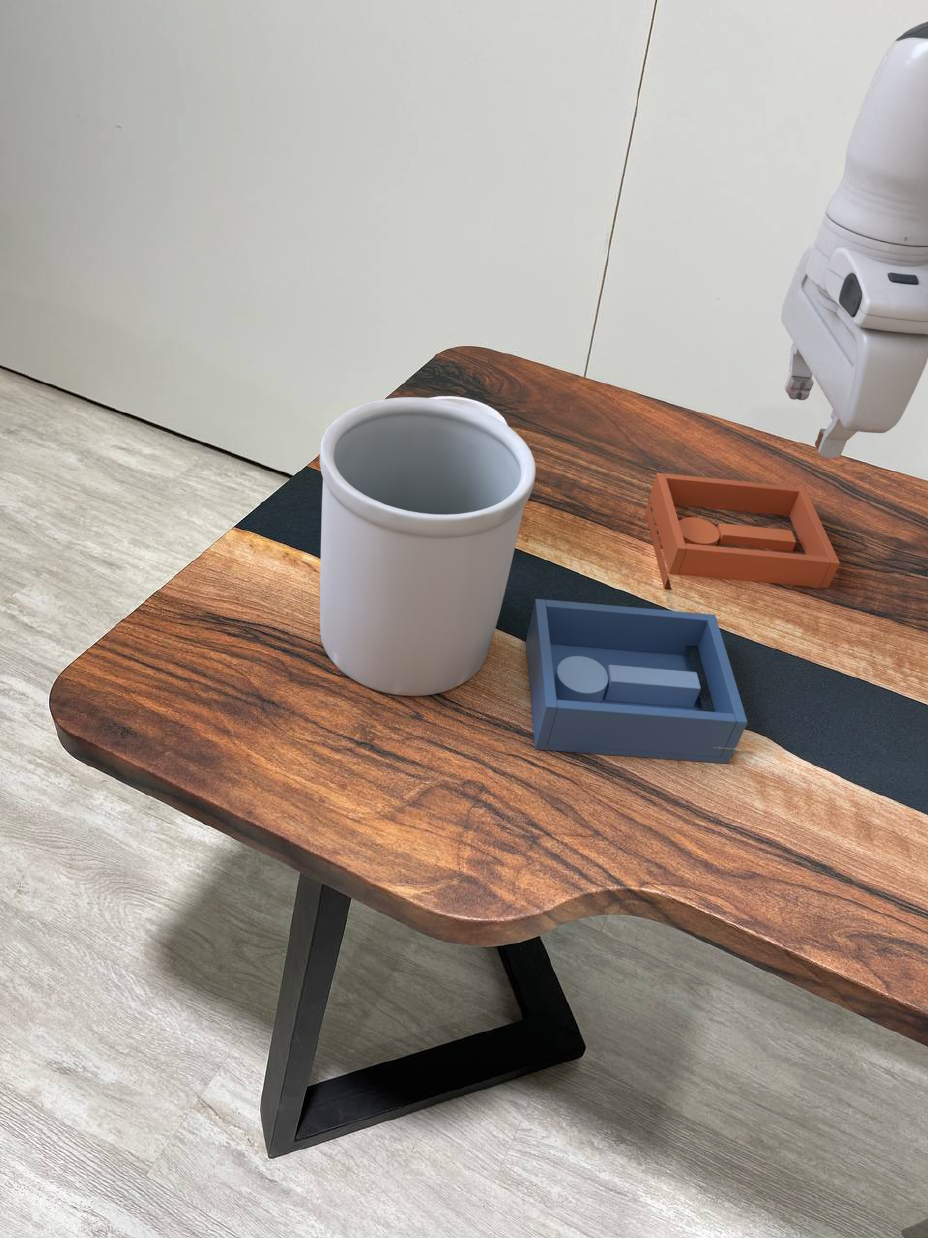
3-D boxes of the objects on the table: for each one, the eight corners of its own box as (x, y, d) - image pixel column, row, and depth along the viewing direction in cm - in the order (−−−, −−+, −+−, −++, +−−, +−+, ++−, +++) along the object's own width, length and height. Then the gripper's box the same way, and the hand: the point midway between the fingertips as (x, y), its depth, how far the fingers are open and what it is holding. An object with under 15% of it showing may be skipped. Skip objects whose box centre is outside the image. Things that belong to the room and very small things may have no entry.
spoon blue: (686, 681, 80) (694, 661, 79) (695, 718, 78) (704, 699, 76) (550, 670, 79) (555, 649, 78) (554, 707, 76) (560, 686, 75)
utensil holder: (517, 699, 77) (561, 514, 66) (322, 711, 74) (332, 517, 62) (477, 575, 88) (509, 397, 76) (304, 580, 85) (310, 394, 73)
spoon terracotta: (781, 541, 97) (788, 523, 95) (791, 568, 94) (799, 549, 92) (668, 530, 96) (675, 511, 94) (675, 556, 93) (682, 537, 91)
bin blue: (699, 655, 84) (715, 614, 81) (728, 764, 75) (747, 722, 72) (525, 640, 83) (535, 598, 79) (534, 749, 74) (546, 706, 71)
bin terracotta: (788, 525, 100) (805, 487, 97) (821, 602, 91) (840, 563, 88) (644, 511, 99) (656, 472, 96) (664, 588, 90) (677, 547, 87)
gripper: (793, 209, 84) (745, 362, 93) (873, 315, 68) (806, 486, 77) (867, 217, 84) (811, 368, 93) (962, 324, 69) (885, 493, 78)
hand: (809, 423), depth 85 cm, fingers open, 8 cm apart
